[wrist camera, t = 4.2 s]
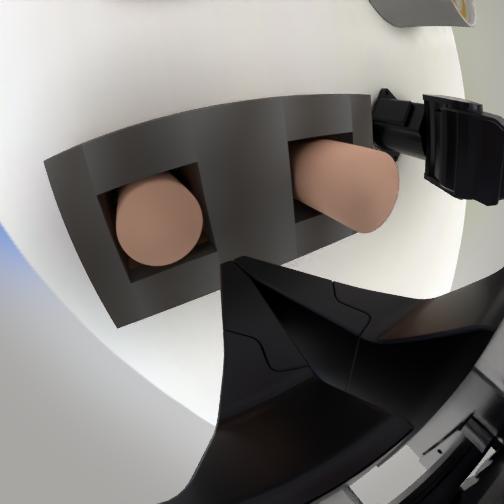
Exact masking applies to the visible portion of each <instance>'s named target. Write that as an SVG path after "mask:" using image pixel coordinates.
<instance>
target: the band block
mask: <svg viewBox="0 0 504 504" xmlns="http://www.w3.org/2000/svg"><path fill="white" fill-rule="evenodd" d="M311 137H316V138H322V139H327V140H333V141H338V142H343V143H348V144H353V145H357V146H362V147H366V148H370V149H373V132H372V111H371V97H370V95H363V94H312V95H294V96H281V97H271V98H262V99H253V100H246V101H239V102H232V103H226V104H220V105H215V106H209V107H204V108H199V109H194V110H190V111H185V112H181V113H177V114H173V115H169V116H165V117H161V118H157V119H153V120H150V121H146V122H143V123H140V124H136V125H133V126H130V127H127V128H124V129H120V130H117V131H115V132H112V133H109V134H106V135H103V136H100V137H98V138H95V139H92V140H90V141H87V142H85V143H82V144H80V145H77V146H75V147H72V148H70V149H68V150H66V151H63V152H61V153H59V154H57V155H55V156H53V157H51V158H49V159H47V160H45V161H44V165H45V168H46V171H47V175H48V178H49V181H50V184H51V187H52V190H53V193H54V196H55V199H56V202H57V205H58V208H59V210H60V213H61V216H62V218H63V221H64V223H65V226H66V228H67V231H68V233H69V235H70V238H71V240H72V242H73V245H74V247H75V249H76V252H77V254H78V256H79V258H80V260H81V262H82V264H83V266H84V269H85V271H86V273H87V275H88V277H89V279H90V281H91V283H92V284H93V286H94V288H95V290H96V292H97V294H98V296H99V298H100V299H101V301H102V303H103V305H104V307H105V308H106V310H107V312H108V314H109V315H110V317H111V319H112V320H113V322H114V324H115V325H116V327H117V328H120V327H123V326H125V325H128V324H131V323H134V322H136V321H139V320H142V319H144V318H147V317H150V316H152V315H155V314H158V313H160V312H163V311H166V310H168V309H171V308H174V307H176V306H179V305H181V304H184V303H187V302H189V301H192V300H194V299H197V298H199V297H202V296H205V295H207V294H210V293H212V292H215V291H217V290H220V289H221V286H220V264H222V263H224V262H227V261H230V260H231V261H233V259H235V258H238V257H241V256H248V257H251V258H255V259H258V260H262V261H265V262H269V263H272V264H276V265H282V264H284V263H287V262H289V261H292V260H294V259H296V258H299V257H301V256H304V255H306V254H308V253H311V252H313V251H315V250H318V249H320V248H323V247H325V246H327V245H330V244H332V243H334V242H337V241H339V240H341V239H344V238H346V237H348V236H351V235H353V234H355V233H358V232H357V231H355V230H353V229H351V228H349V227H348V226H346V225H344V224H342V223H340V222H338V221H337V220H335V219H333V218H331V217H329V216H327V215H325V214H323V213H321V212H320V211H318V210H316V209H314V208H312V207H310V206H308V205H306V204H304V203H302V202H300V201H298V200H296V199H294V198H293V193H292V182H291V171H290V161H289V151H288V142H287V141H293V140H298V139H304V138H311ZM174 168H177V171H178V176H179V180H180V182H181V183H182V184H183V185H184V186H185V187H186V188H187V189H188V190H189V191H190V192H191V193H192V195H193V196H194V197H195V198H196V200H197V201H198V203H199V205H200V208H201V211H202V217H203V224H202V230H201V234H200V237H199V239H198V241H197V243H196V244H195V246H194V247H193V249H192V250H191V251H190V252H189V253H188V254H187V255H186V256H184V257H183V258H181V259H180V260H178V261H176V262H174V263H171V264H168V265H163V266H150V265H145V264H142V263H140V262H137V261H136V260H134V259H132V258H131V257H130V256H129V255H128V254H127V253H126V252H125V251H124V250H123V248H122V247H121V245H120V243H119V240H118V237H117V232H116V214H117V207H116V204H115V201H114V197H113V194H112V191H111V190H112V189H114V188H117V187H120V186H123V185H125V184H128V183H131V182H134V181H137V180H140V179H143V178H146V177H149V176H152V175H155V174H158V173H161V172H164V171H168V170H171V169H174Z"/></svg>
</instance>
